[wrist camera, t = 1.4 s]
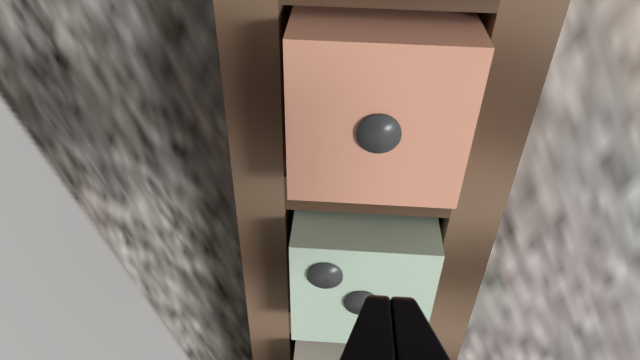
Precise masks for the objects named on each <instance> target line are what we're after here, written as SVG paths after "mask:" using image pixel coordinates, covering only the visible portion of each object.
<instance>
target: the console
mask: <svg viewBox="0 0 640 360" xmlns="http://www.w3.org/2000/svg"><path fill="white" fill-rule="evenodd" d="M569 3H570V0H213V8H214V17H215V26H216V35H217V44H218V53H219V62H220V71H221V80H222V89H223V98H224V107H225V116H226V125H227V134H228V143H229V152H230V161H231V170H232V179H233V188H234V197H235V206H236V215H237V224H238V233H239V241H240V250H241V259H242V268H243V277H244V286H245V295H246V304H247V313H248V322H249V331H250V340H251V349H252V358H253V360H293V359H294V351H295V342H296V340H291V306H290V272H289V243H290V236H291V230H292V224H293V217H294V211H295V210H308V211H326V212H344V213H362V214H381V215H399V216H417V217H435V218H438V220H439V226H440V231H441V237H442V242H443V248H444V254H445V258H444V262H443V267H442V271H441V275H440V279H439V283H438V288H437V292H436V296H435V300H434V304H433V308H432V313H431V317H430V321H429V324H430V325H431V327H432V329H433V330H434V332H435V334H436V336H437V337H438V339H439V341H440V342H441V344H442V346H443V348H444V349H445V351H446V353H447V354H448V356H449V358H450V359H451V360H457V357H458V354H459V351H460V348H461V345H462V342H463V338H464V335H465V332H466V329H467V326H468V323H469V319H470V316H471V313H472V310H473V307H474V304H475V300H476V297H477V294H478V291H479V288H480V285H481V281H482V278H483V275H484V272H485V269H486V266H487V262H488V259H489V256H490V253H491V250H492V247H493V243H494V240H495V237H496V234H497V231H498V228H499V224H500V221H501V218H502V215H503V212H504V209H505V205H506V202H507V199H508V196H509V193H510V190H511V187H512V183H513V180H514V177H515V174H516V171H517V168H518V164H519V161H520V158H521V155H522V152H523V149H524V145H525V142H526V139H527V136H528V133H529V130H530V126H531V123H532V120H533V117H534V114H535V111H536V107H537V104H538V101H539V98H540V95H541V92H542V88H543V85H544V82H545V79H546V76H547V73H548V69H549V66H550V63H551V60H552V57H553V54H554V50H555V47H556V44H557V41H558V38H559V35H560V32H561V28H562V25H563V22H564V19H565V16H566V13H567V9H568V6H569ZM291 5H298V6H324V7H349V8H375V9H400V10H426V11H452V12H477V14H478V16H479V18H480V20H481V22H482V24H483V26H484V28H485V30H486V32H487V34H488V36H489V37H490V39H491V41H492V43H493V45H494V47H495V50H494V54H493V58H492V62H491V66H490V70H489V75H488V79H487V83H486V87H485V91H484V95H483V100H482V104H481V108H480V112H479V116H478V121H477V125H476V129H475V133H474V137H473V141H472V146H471V150H470V154H469V158H468V162H467V166H466V171H465V175H464V179H463V183H462V187H461V191H460V196H459V200H458V204H457V208H456V209H447V208H429V207H411V206H392V205H374V204H356V203H337V202H319V201H300V200H287V169H286V134H285V100H284V66H283V37H284V33H285V30H286V27H287V24H288V21H289V17H290V14H291Z"/></svg>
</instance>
